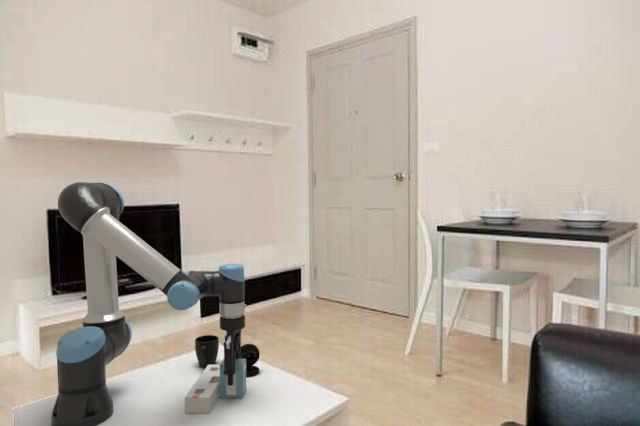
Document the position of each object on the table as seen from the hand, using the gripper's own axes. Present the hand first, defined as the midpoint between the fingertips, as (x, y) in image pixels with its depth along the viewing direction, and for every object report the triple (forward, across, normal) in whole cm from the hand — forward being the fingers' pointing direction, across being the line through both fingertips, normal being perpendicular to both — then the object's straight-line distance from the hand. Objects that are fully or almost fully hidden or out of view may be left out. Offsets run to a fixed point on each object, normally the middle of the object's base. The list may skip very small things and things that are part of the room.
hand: (233, 390), depth 138 cm
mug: (+1, +22, +14) cm, 26 cm away
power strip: (+1, +4, +8) cm, 9 cm away
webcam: (+1, +16, -2) cm, 17 cm away
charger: (+1, 0, +2) cm, 2 cm away
